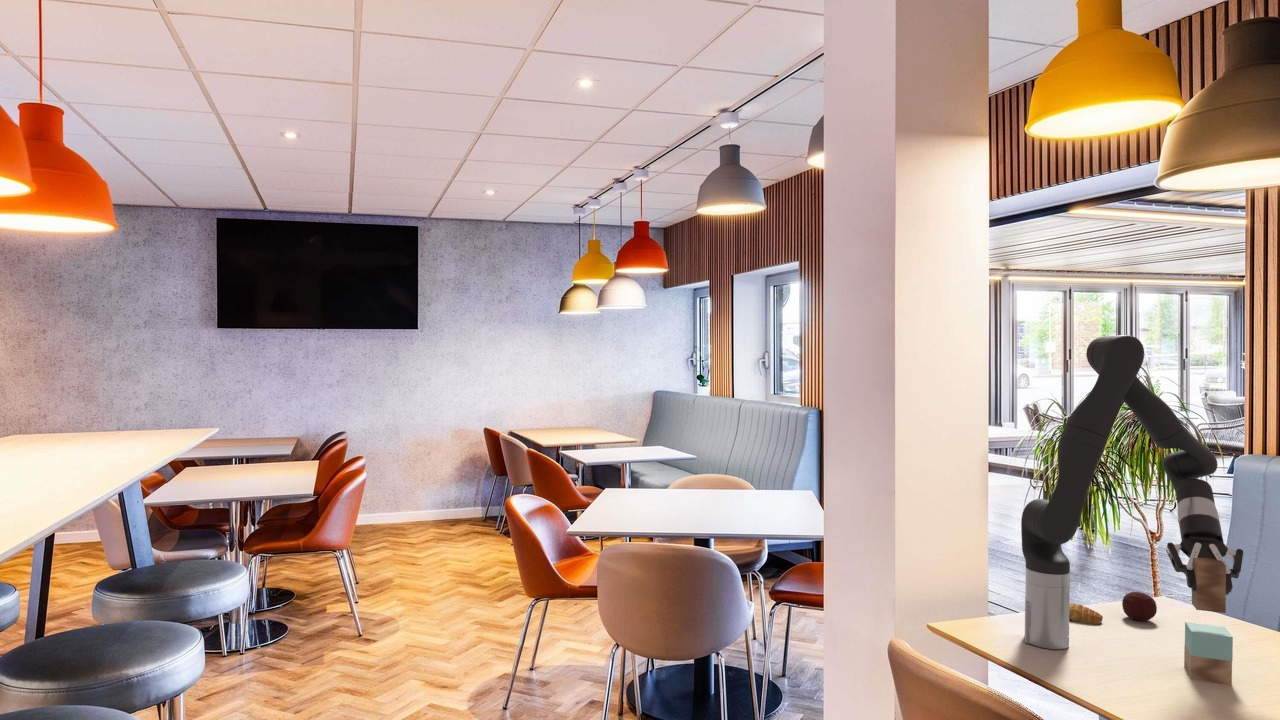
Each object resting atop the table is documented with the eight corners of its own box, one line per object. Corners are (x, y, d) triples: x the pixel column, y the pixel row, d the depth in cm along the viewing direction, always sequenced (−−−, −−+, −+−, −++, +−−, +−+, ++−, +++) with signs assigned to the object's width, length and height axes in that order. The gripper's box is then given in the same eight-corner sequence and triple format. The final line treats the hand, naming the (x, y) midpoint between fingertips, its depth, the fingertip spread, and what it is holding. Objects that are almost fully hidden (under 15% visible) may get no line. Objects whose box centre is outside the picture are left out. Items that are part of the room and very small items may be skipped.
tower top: (1191, 655, 164) (1191, 631, 164) (1184, 644, 170) (1185, 621, 170) (1232, 661, 161) (1232, 637, 161) (1224, 650, 167) (1224, 626, 167)
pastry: (1104, 621, 200) (1105, 606, 200) (1099, 628, 195) (1099, 612, 195) (1064, 612, 206) (1064, 598, 206) (1057, 619, 201) (1057, 604, 201)
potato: (1132, 613, 206) (1132, 586, 206) (1163, 622, 199) (1163, 594, 199) (1115, 617, 203) (1115, 590, 203) (1145, 626, 196) (1146, 598, 196)
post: (1196, 609, 164) (1196, 562, 164) (1191, 603, 169) (1192, 556, 168) (1225, 613, 162) (1226, 565, 162) (1220, 606, 166) (1220, 559, 166)
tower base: (1190, 679, 164) (1190, 655, 164) (1184, 667, 170) (1184, 644, 170) (1231, 685, 161) (1232, 661, 161) (1223, 673, 167) (1223, 650, 167)
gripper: (1162, 509, 175) (1171, 577, 164) (1241, 515, 169) (1256, 586, 158) (1158, 528, 180) (1167, 595, 169) (1235, 535, 173) (1249, 604, 163)
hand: (1210, 590), depth 163 cm, fingers closed on post, 5 cm apart
